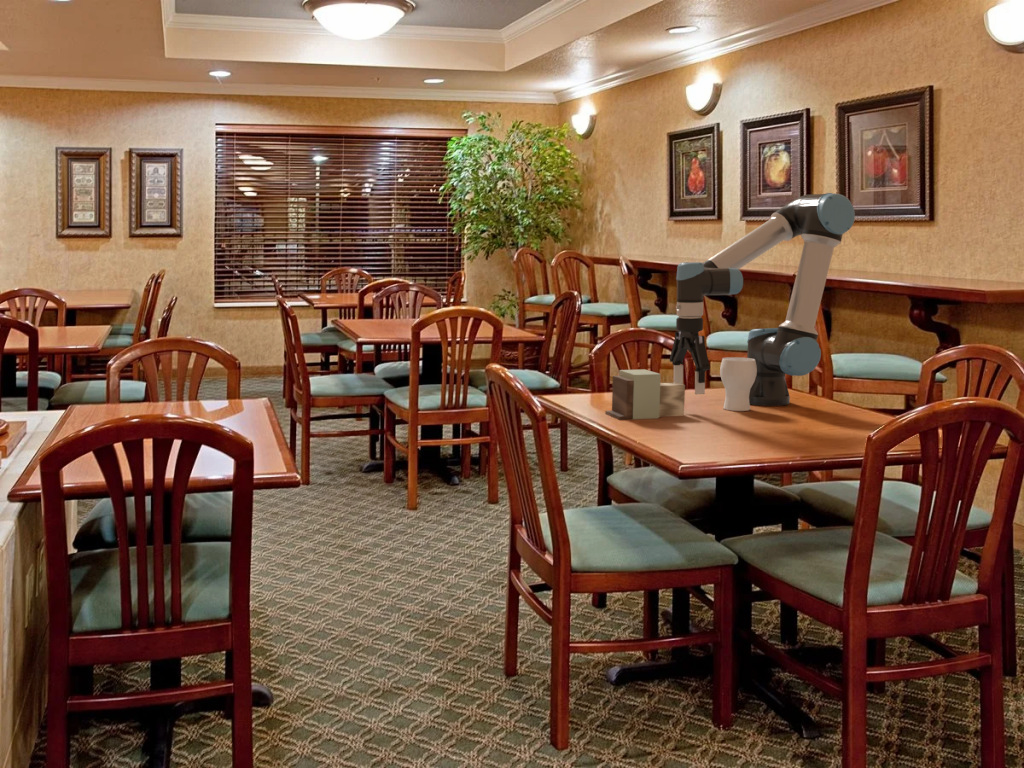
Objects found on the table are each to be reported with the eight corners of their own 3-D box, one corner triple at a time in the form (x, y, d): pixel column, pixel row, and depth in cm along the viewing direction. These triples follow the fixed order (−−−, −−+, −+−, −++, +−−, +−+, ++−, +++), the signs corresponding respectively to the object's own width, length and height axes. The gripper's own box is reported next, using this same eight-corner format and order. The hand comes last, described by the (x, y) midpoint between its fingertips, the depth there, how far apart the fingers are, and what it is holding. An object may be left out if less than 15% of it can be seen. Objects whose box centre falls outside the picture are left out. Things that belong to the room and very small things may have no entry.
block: (643, 412, 308) (644, 369, 306) (659, 418, 298) (660, 374, 297) (618, 413, 306) (619, 370, 304) (632, 419, 296) (634, 374, 294)
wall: (618, 413, 306) (619, 375, 304) (632, 419, 296) (633, 380, 295) (605, 414, 304) (606, 376, 303) (619, 420, 295) (620, 380, 293)
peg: (675, 413, 308) (677, 382, 307) (683, 416, 304) (685, 385, 302) (631, 415, 304) (632, 384, 303) (638, 418, 299) (639, 386, 298)
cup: (755, 412, 310) (757, 361, 308) (718, 411, 312) (720, 360, 310) (754, 407, 321) (756, 357, 318) (718, 405, 323) (720, 356, 321)
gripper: (658, 314, 313) (658, 385, 316) (698, 321, 290) (697, 397, 293) (681, 313, 315) (681, 383, 319) (722, 320, 292) (721, 396, 295)
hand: (688, 390), depth 306 cm, fingers open, 13 cm apart
